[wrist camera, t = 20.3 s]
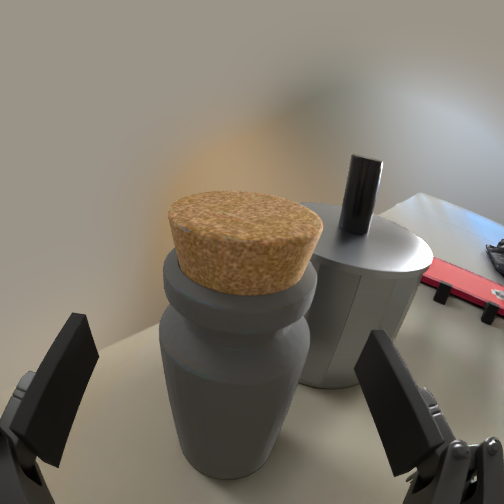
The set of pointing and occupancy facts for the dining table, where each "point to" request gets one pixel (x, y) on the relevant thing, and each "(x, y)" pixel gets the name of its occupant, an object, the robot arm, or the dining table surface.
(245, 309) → the bottle
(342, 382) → the pot
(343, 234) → the pot lid
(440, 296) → the red board with handle
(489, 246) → the dark slate chunk
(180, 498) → the dining table surface
